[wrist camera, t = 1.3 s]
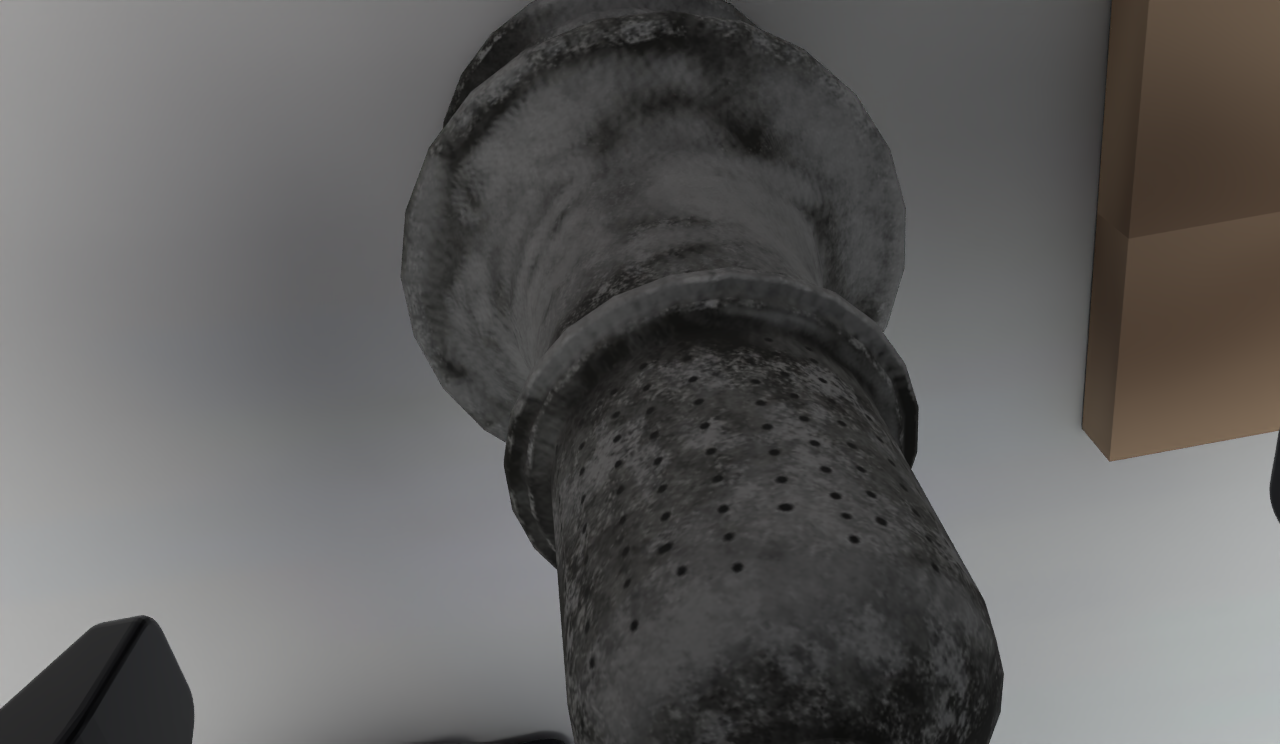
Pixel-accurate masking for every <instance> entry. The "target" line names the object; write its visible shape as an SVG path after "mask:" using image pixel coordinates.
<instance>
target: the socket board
mask: <svg viewBox="0 0 1280 744" xmlns="http://www.w3.org/2000/svg"><path fill="white" fill-rule="evenodd" d="M1279 428H1280V0H1112V7H1111V22H1110V36H1109V50H1108V65H1107V79H1106V94H1105V108H1104V122H1103V137H1102V151H1101V165H1100V180H1099V194H1098V209H1097V223H1096V237H1095V252H1094V266H1093V280H1092V295H1091V309H1090V324H1089V338H1088V352H1087V367H1086V381H1085V395H1084V410H1083V424H1082V429H1083V430H1084V431H1085V433H1086V434H1087V435H1088V436H1089V437H1090V439H1091V440H1092V441H1093V442H1094V444H1095V445H1096V446H1097V447H1098V448H1099V450H1100V451H1101V452H1102V453H1103V454H1104V456H1105V457H1106V458H1107V459H1108V460H1109V462H1110V461H1116V460H1121V459H1127V458H1132V457H1138V456H1143V455H1148V454H1154V453H1159V452H1165V451H1170V450H1176V449H1181V448H1187V447H1192V446H1197V445H1203V444H1208V443H1214V442H1219V441H1225V440H1230V439H1236V438H1241V437H1246V436H1252V435H1257V434H1263V433H1268V432H1274V431H1279Z"/></svg>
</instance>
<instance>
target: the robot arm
mask: <svg viewBox="0 0 1280 744" xmlns="http://www.w3.org/2000/svg"><path fill="white" fill-rule="evenodd" d="M1270 500H1271V504H1272V508H1273V510H1274V513H1275V515H1276V517H1277V519H1278V521H1279V523H1280V428H1279V434H1278V440H1277V445H1276V451H1275V457H1274V463H1273V469H1272V474H1271V480H1270ZM193 728H194V704H193V698H192V694H191V691H190V688H189V686H188V684H187V682H186V679H185V677H184V675H183V673H182V671H181V669H180V667H179V665H178V663H177V661H176V658H175V656H174V654H173V652H172V650H171V648H170V646H169V644H168V642H167V639H166V637H165V635H164V633H163V631H162V629H161V628H160V626H159V625H158V623H157V622H156V621H155V620H154V619H153V618H150V617H148V616H144V615H141V616H135V617H130V618H124V619H119V620H113V621H108V622H103V623H100V624H97V625H95V626H93V627H92V628H90V629H89V630H88V631H87V632H86V633H85V634H83V635H82V636H81V637H80V638H79V639H78V640H77V641H76V642H74V643H73V644H72V645H71V646H70V647H69V648H68V649H67V650H66V651H64V652H63V653H62V654H61V655H60V656H59V657H58V658H57V659H56V660H54V661H53V662H52V663H51V664H50V665H49V666H48V667H47V668H46V669H44V670H43V671H42V672H41V673H40V674H39V675H38V676H37V677H35V678H34V679H33V680H32V681H31V682H30V683H29V684H28V685H27V686H25V687H24V688H23V689H22V690H21V691H20V692H19V693H18V694H17V695H15V696H14V697H13V698H12V699H11V700H10V701H9V702H8V703H7V704H5V705H4V706H3V707H2V708H1V709H0V744H192V738H193ZM521 744H565V743H563V742H562V741H558V740H554V739H544V740H537V741H532V742H526V743H521Z"/></svg>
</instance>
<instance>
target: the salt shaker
mask: <svg viewBox="0 0 1280 744" xmlns="http://www.w3.org/2000/svg"><path fill="white" fill-rule="evenodd" d="M905 217H906V208H905V204H904V200H903V196H902V193H901V189H900V185H899V182H898V178H897V174H896V170H895V167H894V163H893V159H892V155H891V152H890V149H889V147H888V145H887V144H886V142H885V141H884V139H883V137H882V136H881V134H880V133H879V131H878V129H877V128H876V126H875V125H874V123H873V121H872V120H871V118H870V117H869V115H868V113H867V112H866V110H865V109H864V107H863V105H862V104H861V102H860V101H859V99H858V97H857V96H856V95H855V94H854V93H853V92H852V91H851V90H850V89H849V88H848V87H847V86H845V85H844V84H843V83H842V82H841V81H840V80H839V79H837V78H836V77H835V76H834V75H833V74H832V73H831V72H829V71H828V70H827V69H826V68H825V67H824V66H822V65H821V64H820V63H819V62H818V61H817V60H816V59H814V58H813V57H812V56H811V55H810V54H809V53H808V52H806V51H805V50H804V49H802V48H800V47H798V46H795V45H793V44H791V43H789V42H787V41H784V40H782V39H780V38H778V37H776V36H773V35H771V34H769V33H767V32H765V31H762V30H760V29H759V28H758V27H756V26H755V25H754V24H753V23H752V22H751V21H749V20H748V19H747V18H746V17H745V16H744V15H743V14H741V13H740V12H739V11H738V10H737V9H736V8H734V7H733V6H732V5H731V4H729V3H727V2H725V1H723V0H536V1H534V2H532V3H531V4H529V5H528V6H527V7H525V8H524V9H523V10H522V11H520V12H519V13H518V14H516V15H515V16H514V17H513V18H511V19H510V20H509V21H508V22H506V23H505V24H504V25H502V26H501V27H500V28H499V29H497V30H496V31H495V32H493V33H492V34H491V35H490V37H489V38H488V40H487V41H486V42H485V44H484V45H483V46H482V48H481V49H480V50H479V52H478V53H477V54H476V56H475V57H474V59H473V60H472V61H471V63H470V64H469V65H468V67H467V68H466V69H465V71H464V72H463V73H462V75H461V77H460V80H459V83H458V85H457V88H456V90H455V93H454V96H453V98H452V101H451V104H450V106H449V109H448V112H447V114H446V117H445V120H444V124H443V130H442V131H441V132H440V134H439V135H438V137H437V138H436V139H435V141H434V142H433V143H432V145H431V146H430V147H429V149H428V152H427V155H426V157H425V160H424V163H423V165H422V168H421V171H420V173H419V176H418V179H417V181H416V184H415V187H414V189H413V192H412V195H411V197H410V200H409V203H408V205H407V208H406V212H405V223H404V238H403V252H402V266H401V280H402V284H403V289H404V293H405V298H406V302H407V307H408V311H409V316H410V320H411V325H412V329H413V333H414V337H415V339H416V340H417V342H418V344H419V346H420V348H421V349H422V351H423V353H424V355H425V357H426V358H427V360H428V362H429V364H430V366H431V367H432V369H433V371H434V373H435V375H436V376H437V378H438V380H439V382H440V384H441V385H442V387H443V389H444V390H445V391H446V392H447V393H448V394H449V395H450V396H451V397H452V398H453V399H454V400H455V401H456V402H457V403H458V404H459V405H460V406H461V407H462V408H463V409H464V410H465V411H466V412H467V413H468V414H469V415H470V416H471V417H472V418H473V419H474V420H475V421H476V422H477V423H478V424H479V425H480V426H481V427H482V428H483V429H484V430H486V431H487V432H489V433H491V434H492V435H494V436H496V437H497V438H499V439H501V440H502V441H504V442H506V449H505V456H504V469H505V474H506V479H507V484H508V489H509V494H510V499H511V505H512V510H513V512H514V513H515V515H516V517H517V519H518V520H519V522H520V524H521V526H522V527H523V529H524V531H525V533H526V535H527V536H528V538H529V540H530V542H531V543H532V545H533V547H534V548H535V549H536V550H537V551H538V552H539V553H540V554H541V555H542V556H543V557H544V558H545V559H546V560H547V561H548V562H549V563H551V564H552V565H553V566H554V567H555V568H556V569H557V573H558V586H559V599H560V612H561V625H562V638H563V651H564V664H565V677H566V690H567V703H568V709H569V715H570V720H571V726H572V731H573V736H574V742H575V744H989V742H990V739H991V737H992V734H993V731H994V728H995V726H996V723H997V720H998V717H999V715H1000V711H1001V700H1002V689H1003V677H1004V673H1003V668H1002V664H1001V659H1000V655H999V650H998V646H997V641H996V637H995V634H994V631H993V627H992V624H991V621H990V617H989V614H988V611H987V607H986V604H985V601H984V599H983V597H982V595H981V594H980V592H979V590H978V588H977V587H976V585H975V583H974V581H973V579H972V578H971V576H970V574H969V572H968V570H967V569H966V567H965V565H964V563H963V561H962V560H961V558H960V556H959V554H958V552H957V551H956V549H955V547H954V545H953V543H952V542H951V540H950V538H949V536H948V534H947V533H946V531H945V529H944V527H943V526H942V524H941V522H940V520H939V518H938V517H937V515H936V513H935V511H934V509H933V508H932V506H931V504H930V502H929V500H928V499H927V497H926V495H925V493H924V491H923V490H922V488H921V486H920V484H919V482H918V481H917V479H916V477H915V475H914V473H913V472H912V470H911V468H912V466H913V463H914V460H915V457H916V454H917V441H918V404H917V401H916V398H915V394H914V391H913V388H912V384H911V381H910V378H909V375H908V371H907V368H906V365H905V363H904V362H903V360H902V359H901V357H900V356H899V354H898V353H897V352H896V350H895V349H894V347H893V346H892V345H891V343H890V342H889V340H888V339H887V338H886V336H885V335H884V333H883V331H884V330H885V328H886V326H887V324H888V321H889V317H890V314H891V311H892V307H893V304H894V301H895V298H896V294H897V291H898V288H899V284H900V281H901V278H902V274H903V271H904V258H905Z"/></svg>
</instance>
